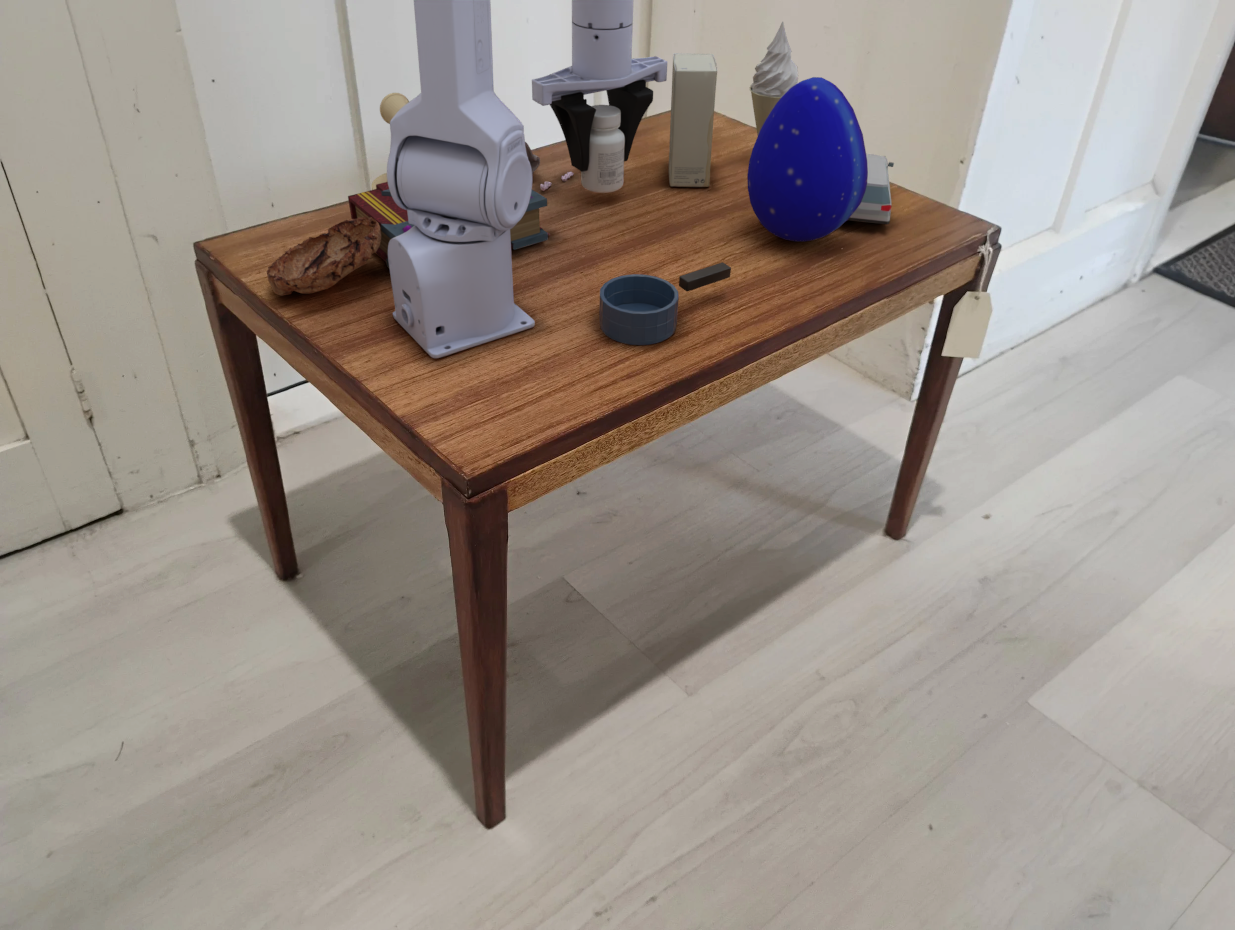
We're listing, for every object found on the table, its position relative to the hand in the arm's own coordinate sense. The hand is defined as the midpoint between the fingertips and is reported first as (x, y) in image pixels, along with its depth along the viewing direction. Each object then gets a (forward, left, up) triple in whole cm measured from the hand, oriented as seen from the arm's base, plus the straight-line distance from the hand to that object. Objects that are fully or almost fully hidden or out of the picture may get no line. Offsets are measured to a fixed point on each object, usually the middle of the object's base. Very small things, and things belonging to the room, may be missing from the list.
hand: (600, 162), depth 98 cm
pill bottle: (0, 0, -2) cm, 2 cm away
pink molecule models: (-3, +5, -4) cm, 7 cm away
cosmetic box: (+11, -1, -4) cm, 12 cm away
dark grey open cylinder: (-11, -23, -4) cm, 26 cm away
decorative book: (-17, -1, -4) cm, 18 cm away
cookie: (-31, -3, 0) cm, 31 cm away
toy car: (+22, -16, -4) cm, 27 cm away
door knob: (-17, +6, +1) cm, 18 cm away
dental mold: (-7, +8, 0) cm, 11 cm away
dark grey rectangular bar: (-4, -23, -2) cm, 23 cm away
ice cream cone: (+21, -2, -4) cm, 22 cm away
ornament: (+11, -18, -4) cm, 21 cm away
